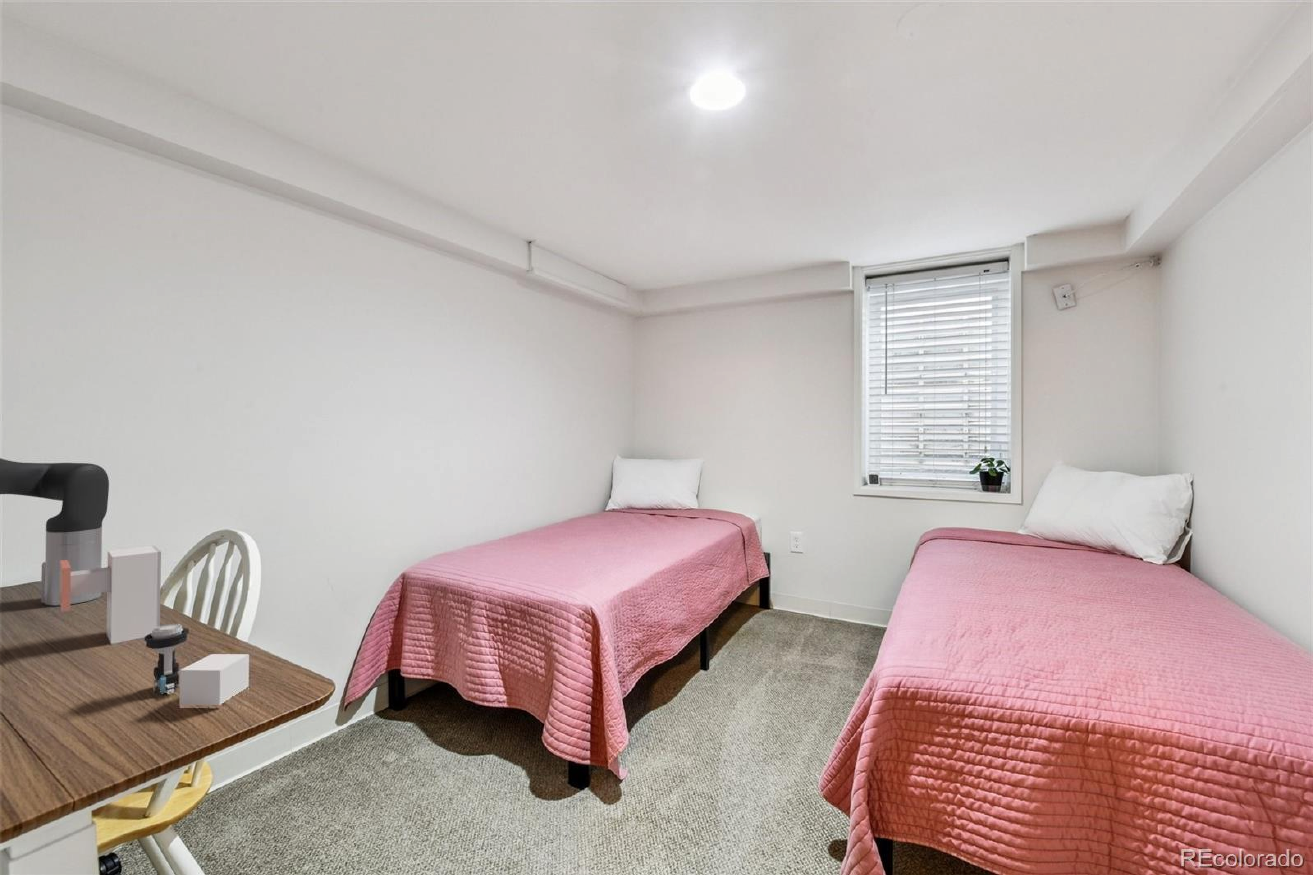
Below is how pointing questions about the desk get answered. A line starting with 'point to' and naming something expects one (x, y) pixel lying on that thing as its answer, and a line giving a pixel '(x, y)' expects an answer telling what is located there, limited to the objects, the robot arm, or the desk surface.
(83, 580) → the plug
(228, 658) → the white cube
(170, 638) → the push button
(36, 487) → the robot arm
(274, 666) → the desk surface
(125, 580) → the socket block
